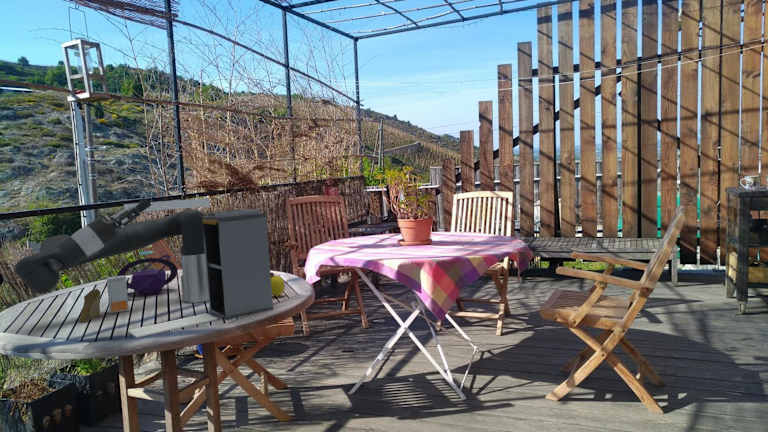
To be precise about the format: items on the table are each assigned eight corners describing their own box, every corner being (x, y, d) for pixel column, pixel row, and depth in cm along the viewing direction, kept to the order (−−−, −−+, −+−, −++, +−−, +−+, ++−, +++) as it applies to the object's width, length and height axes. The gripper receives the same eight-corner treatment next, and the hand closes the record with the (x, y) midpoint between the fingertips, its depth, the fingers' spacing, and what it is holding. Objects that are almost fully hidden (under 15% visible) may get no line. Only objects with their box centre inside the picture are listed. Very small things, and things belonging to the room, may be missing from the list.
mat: (136, 337, 155) (136, 336, 155) (128, 331, 162) (128, 330, 162) (217, 319, 170) (217, 318, 170) (206, 314, 177) (206, 313, 177)
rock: (87, 317, 173) (112, 305, 181) (72, 297, 173) (97, 286, 182) (74, 333, 178) (99, 321, 186) (59, 314, 178) (84, 303, 187)
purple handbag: (180, 285, 228) (175, 226, 226) (178, 295, 208) (173, 231, 206) (122, 292, 221) (116, 231, 218) (114, 303, 201) (107, 236, 199)
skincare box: (109, 313, 185) (106, 279, 184) (109, 311, 189) (106, 277, 188) (129, 310, 188) (126, 276, 187) (128, 308, 192) (125, 275, 191)
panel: (128, 212, 155) (127, 204, 154) (124, 212, 158) (123, 204, 158) (210, 206, 169) (209, 198, 169) (206, 206, 172) (205, 198, 172)
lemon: (281, 298, 193) (280, 276, 193) (267, 298, 194) (265, 276, 194) (287, 295, 199) (285, 273, 198) (273, 295, 200) (271, 273, 199)
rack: (225, 319, 169) (216, 214, 166) (208, 312, 180) (199, 212, 177) (273, 308, 179) (265, 209, 176) (254, 302, 190) (247, 208, 187)
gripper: (89, 226, 144) (145, 190, 153) (81, 225, 155) (133, 192, 164) (107, 248, 147) (161, 212, 155) (97, 246, 158) (148, 212, 167)
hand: (146, 202), depth 160 cm, fingers closed on panel, 4 cm apart
